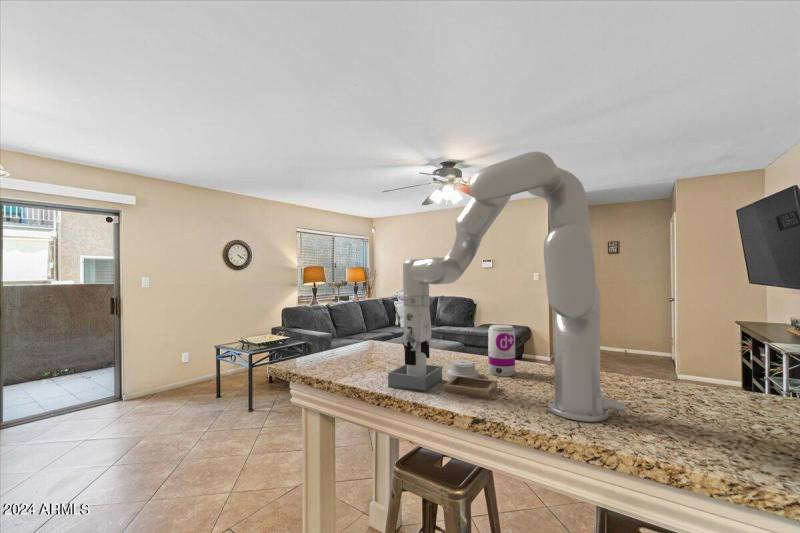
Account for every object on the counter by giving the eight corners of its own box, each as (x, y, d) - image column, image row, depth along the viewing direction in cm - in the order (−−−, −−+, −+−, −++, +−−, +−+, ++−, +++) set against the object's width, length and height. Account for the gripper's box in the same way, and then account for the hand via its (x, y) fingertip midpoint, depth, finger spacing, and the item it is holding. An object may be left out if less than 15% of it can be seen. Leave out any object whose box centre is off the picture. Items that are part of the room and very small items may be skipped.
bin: (442, 379, 108) (442, 366, 109) (425, 392, 97) (425, 377, 97) (408, 375, 114) (408, 362, 114) (388, 386, 102) (388, 372, 102)
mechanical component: (440, 376, 113) (468, 383, 106) (440, 362, 113) (468, 368, 106) (457, 370, 120) (484, 376, 114) (457, 357, 120) (484, 361, 114)
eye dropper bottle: (412, 378, 108) (412, 337, 109) (428, 381, 105) (428, 339, 106) (404, 381, 105) (404, 339, 105) (421, 384, 102) (421, 341, 102)
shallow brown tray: (497, 388, 101) (497, 380, 101) (489, 399, 92) (489, 391, 92) (455, 382, 106) (455, 375, 106) (444, 392, 97) (444, 384, 97)
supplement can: (518, 376, 112) (518, 327, 112) (491, 376, 112) (491, 327, 112) (510, 369, 120) (510, 324, 120) (485, 369, 120) (485, 324, 120)
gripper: (415, 304, 96) (417, 369, 96) (439, 300, 112) (440, 356, 111) (391, 303, 99) (392, 366, 99) (416, 299, 115) (417, 354, 114)
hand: (417, 361), depth 105 cm, fingers open, 9 cm apart
